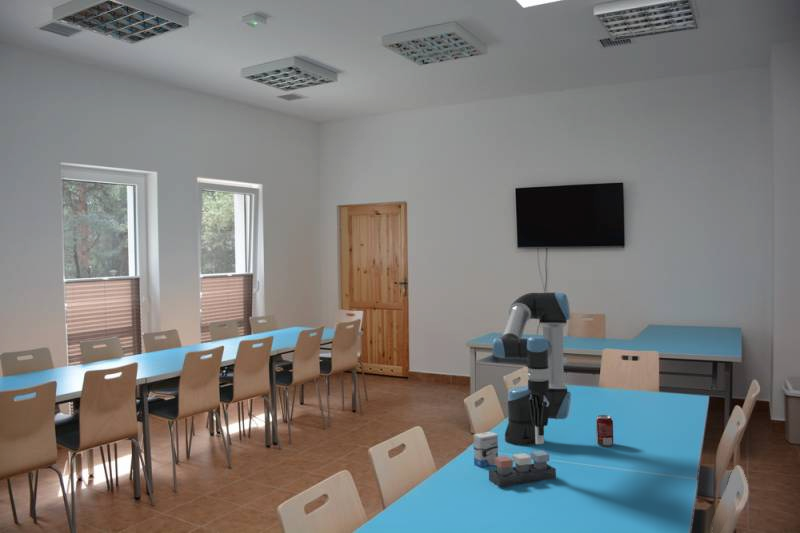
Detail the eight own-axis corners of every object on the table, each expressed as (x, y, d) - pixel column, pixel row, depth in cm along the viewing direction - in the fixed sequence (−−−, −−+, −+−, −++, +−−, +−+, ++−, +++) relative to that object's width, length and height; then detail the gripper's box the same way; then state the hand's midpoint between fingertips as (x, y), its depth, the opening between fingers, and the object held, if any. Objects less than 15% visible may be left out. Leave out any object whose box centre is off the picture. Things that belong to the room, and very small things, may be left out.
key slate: (538, 470, 224) (537, 456, 224) (531, 466, 228) (530, 452, 228) (549, 469, 225) (549, 454, 225) (542, 464, 230) (542, 450, 230)
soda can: (614, 447, 257) (613, 418, 257) (597, 446, 259) (597, 418, 258) (612, 442, 264) (611, 414, 264) (595, 441, 265) (595, 414, 265)
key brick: (501, 476, 219) (500, 461, 219) (494, 472, 223) (494, 457, 223) (513, 474, 220) (512, 459, 220) (506, 470, 225) (506, 455, 225)
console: (499, 487, 217) (499, 478, 217) (489, 480, 225) (488, 470, 224) (555, 478, 224) (555, 469, 224) (544, 471, 232) (543, 462, 232)
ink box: (481, 468, 237) (480, 437, 237) (473, 464, 242) (472, 434, 242) (499, 464, 241) (498, 434, 241) (491, 460, 246) (490, 430, 245)
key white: (519, 473, 221) (519, 458, 221) (513, 469, 226) (512, 454, 226) (531, 471, 223) (531, 457, 223) (524, 467, 227) (524, 453, 227)
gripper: (520, 377, 231) (521, 439, 231) (538, 383, 219) (540, 449, 219) (537, 375, 233) (539, 437, 234) (557, 381, 221) (558, 447, 221)
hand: (539, 443), depth 226 cm, fingers closed
